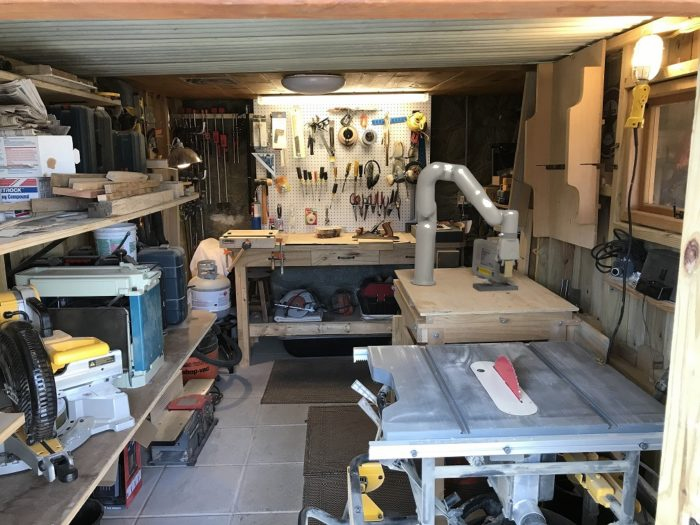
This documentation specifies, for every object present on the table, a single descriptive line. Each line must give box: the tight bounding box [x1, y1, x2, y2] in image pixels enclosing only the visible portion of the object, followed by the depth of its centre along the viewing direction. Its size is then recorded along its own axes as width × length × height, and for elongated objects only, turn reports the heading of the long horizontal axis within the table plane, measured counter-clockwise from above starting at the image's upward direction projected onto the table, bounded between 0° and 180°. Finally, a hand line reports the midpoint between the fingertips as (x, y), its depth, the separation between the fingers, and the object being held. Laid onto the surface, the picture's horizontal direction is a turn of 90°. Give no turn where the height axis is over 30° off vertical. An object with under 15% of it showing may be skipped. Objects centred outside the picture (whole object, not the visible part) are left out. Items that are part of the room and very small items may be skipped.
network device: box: [471, 238, 509, 283], centre depth 281 cm, size 26×9×20 cm, turn 22°
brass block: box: [500, 260, 513, 278], centre depth 265 cm, size 4×4×8 cm
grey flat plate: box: [472, 281, 519, 292], centre depth 266 cm, size 8×20×2 cm, turn 103°
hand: (506, 272), depth 265 cm, fingers closed on brass block, 4 cm apart
